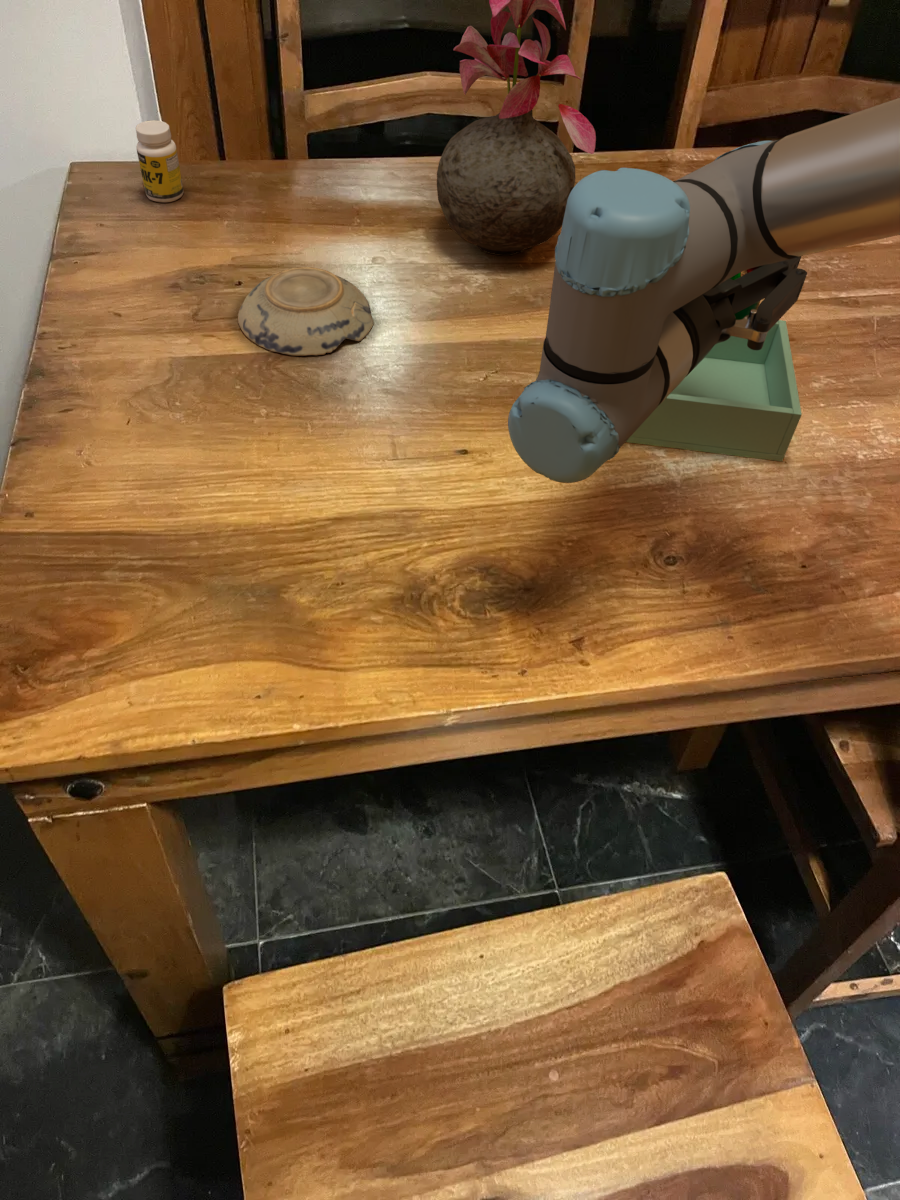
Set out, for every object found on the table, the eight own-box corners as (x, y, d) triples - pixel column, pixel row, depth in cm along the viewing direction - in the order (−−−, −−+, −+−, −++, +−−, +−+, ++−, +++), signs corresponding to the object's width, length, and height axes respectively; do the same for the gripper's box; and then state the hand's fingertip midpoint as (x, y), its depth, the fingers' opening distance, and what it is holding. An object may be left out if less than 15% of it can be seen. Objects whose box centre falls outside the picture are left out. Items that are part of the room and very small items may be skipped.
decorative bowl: (345, 370, 97) (393, 294, 107) (343, 340, 95) (393, 265, 104) (214, 340, 100) (273, 269, 109) (208, 310, 97) (269, 239, 106)
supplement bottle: (138, 197, 119) (123, 129, 112) (161, 182, 121) (148, 115, 115) (169, 207, 117) (156, 138, 111) (191, 191, 120) (180, 124, 114)
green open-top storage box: (769, 367, 101) (786, 320, 97) (782, 461, 91) (802, 414, 87) (625, 350, 102) (635, 302, 97) (622, 442, 92) (634, 394, 87)
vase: (437, 203, 121) (447, -73, 98) (571, 212, 121) (612, -62, 98) (431, 273, 110) (441, -20, 87) (578, 282, 110) (626, -8, 87)
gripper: (545, 341, 78) (671, 233, 91) (745, 429, 72) (850, 299, 84) (557, 258, 72) (690, 155, 85) (775, 346, 66) (883, 220, 79)
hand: (769, 227), depth 85 cm, fingers closed on soda can, 5 cm apart
